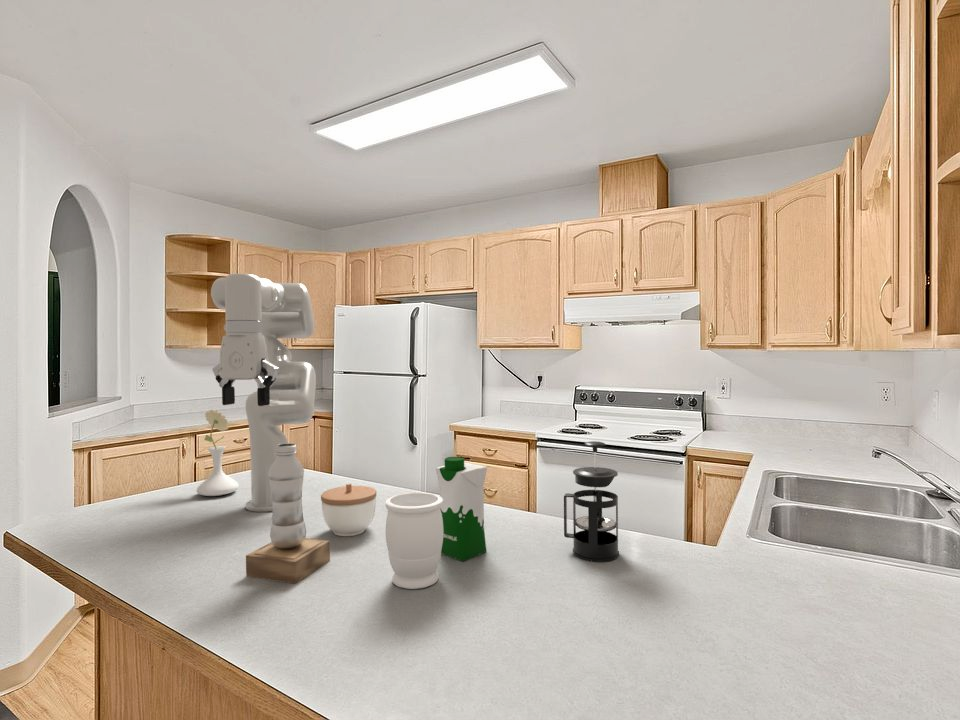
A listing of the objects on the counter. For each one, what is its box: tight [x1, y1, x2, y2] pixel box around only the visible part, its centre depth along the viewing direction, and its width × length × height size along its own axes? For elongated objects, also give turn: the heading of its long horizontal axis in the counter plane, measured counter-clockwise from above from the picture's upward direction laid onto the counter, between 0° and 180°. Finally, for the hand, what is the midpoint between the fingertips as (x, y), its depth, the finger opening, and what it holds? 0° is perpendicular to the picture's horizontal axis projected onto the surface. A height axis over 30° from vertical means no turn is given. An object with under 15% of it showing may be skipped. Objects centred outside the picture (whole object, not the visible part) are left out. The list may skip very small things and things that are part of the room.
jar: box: [385, 492, 444, 590], centre depth 99 cm, size 11×10×15 cm
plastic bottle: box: [268, 442, 307, 549], centre depth 105 cm, size 6×7×20 cm
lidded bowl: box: [320, 483, 377, 537], centre depth 126 cm, size 13×13×11 cm
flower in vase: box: [196, 408, 240, 497], centre depth 160 cm, size 13×11×25 cm
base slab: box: [245, 537, 331, 584], centre depth 105 cm, size 11×11×4 cm
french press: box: [563, 440, 620, 563], centre depth 111 cm, size 12×9×23 cm
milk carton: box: [435, 456, 488, 562], centre depth 112 cm, size 9×9×20 cm
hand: (246, 404), depth 122 cm, fingers open, 9 cm apart
